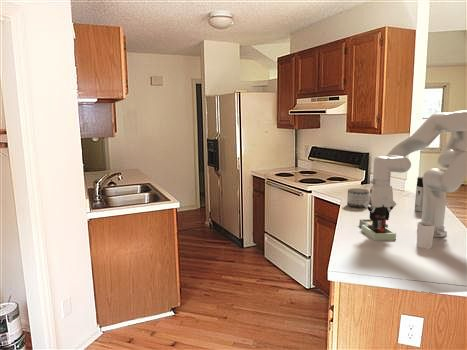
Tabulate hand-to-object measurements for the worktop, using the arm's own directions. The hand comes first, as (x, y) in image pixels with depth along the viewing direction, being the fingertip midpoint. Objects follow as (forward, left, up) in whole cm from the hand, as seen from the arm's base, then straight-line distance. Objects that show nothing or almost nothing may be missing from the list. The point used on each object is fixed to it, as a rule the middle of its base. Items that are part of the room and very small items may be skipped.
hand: (379, 219), depth 166 cm
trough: (0, 0, -8) cm, 8 cm away
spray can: (+40, -47, -8) cm, 62 cm away
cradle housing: (+11, -3, -8) cm, 14 cm away
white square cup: (-16, -13, -8) cm, 22 cm away
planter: (+55, -14, -8) cm, 57 cm away
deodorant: (0, 0, -7) cm, 7 cm away
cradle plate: (+11, -3, -7) cm, 13 cm away
